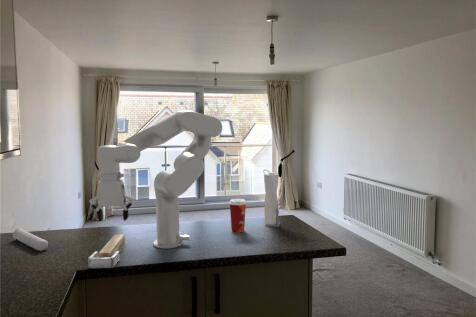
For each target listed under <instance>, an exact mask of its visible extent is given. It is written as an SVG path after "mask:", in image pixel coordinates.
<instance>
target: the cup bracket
mask: <svg viewBox="0 0 476 317" xmlns="http://www.w3.org/2000/svg"><path fill="white" fill-rule="evenodd" d="M120 258H121V257H120V253H119V251H116V253H115V254H114V255H113V256H112V257H105V258H99V251H94V252H93V253H92V254H90V256H88V258H87V266H88V269H111V268H112V269H114V268H115V267H116V266H117V264H118V263H119V262H118V261H120V260H121V259H120ZM117 262H118V263H117Z"/></svg>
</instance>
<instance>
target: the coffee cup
mask: <svg viewBox="0 0 476 317" xmlns="http://www.w3.org/2000/svg"><path fill="white" fill-rule="evenodd" d="M228 204H229V209H230V210H229V211H230V212H229V213H230V227H231V228H230V229H231V233H234V232H235V234H241V233H240V232H242V233H244V232H245V226H246V225H245V222H246V210H247V209H246V205H247V201H246V199H244V198H231V199H230V200H229V202H228Z"/></svg>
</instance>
